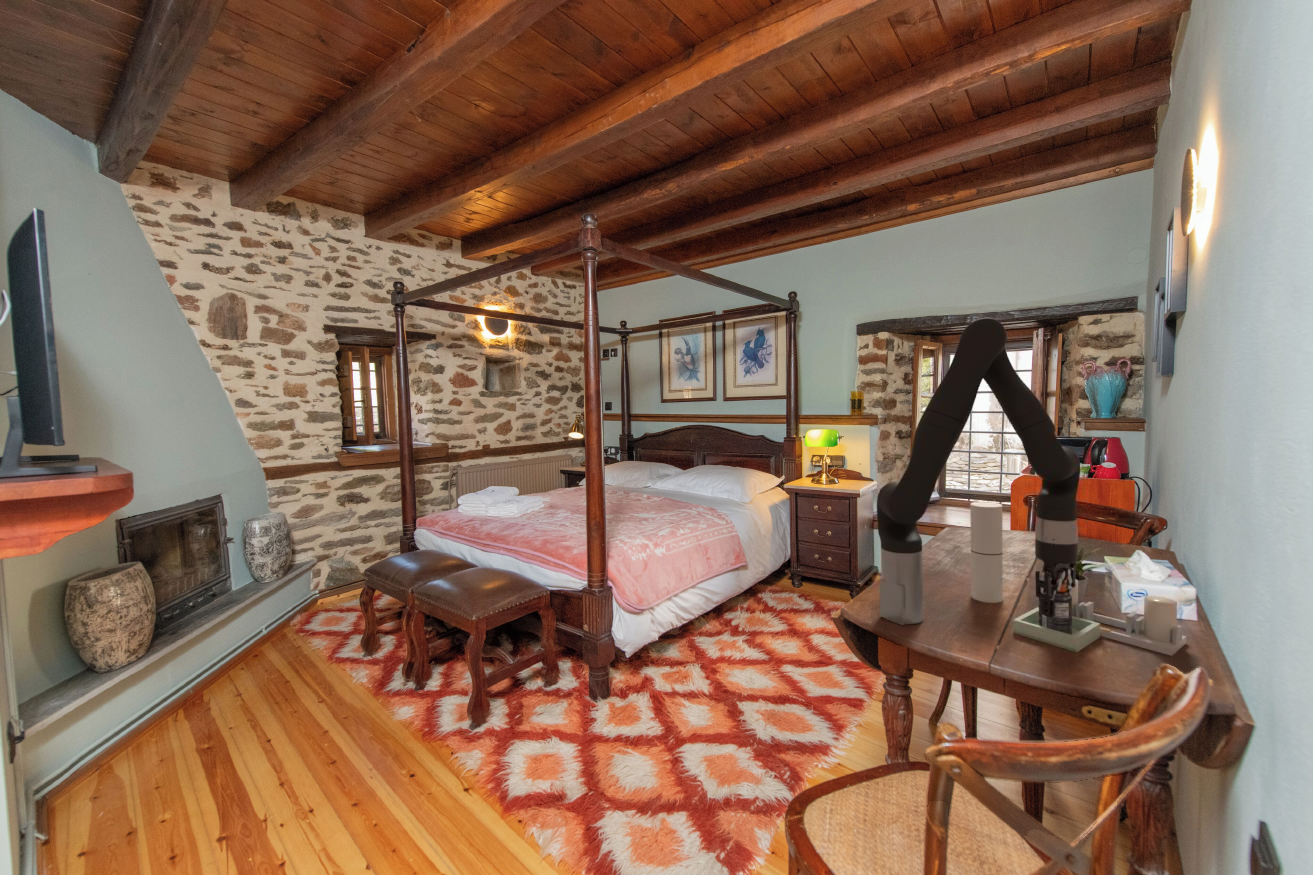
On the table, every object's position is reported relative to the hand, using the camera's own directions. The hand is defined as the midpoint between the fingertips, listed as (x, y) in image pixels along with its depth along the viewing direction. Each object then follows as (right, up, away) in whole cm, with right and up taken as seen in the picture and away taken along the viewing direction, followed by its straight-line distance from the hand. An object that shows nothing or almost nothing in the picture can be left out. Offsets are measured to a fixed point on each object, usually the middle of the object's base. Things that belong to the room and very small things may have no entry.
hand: (1055, 611), depth 119 cm
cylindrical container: (-1, -4, +23) cm, 23 cm away
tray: (0, -5, 0) cm, 5 cm away
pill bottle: (0, -5, 0) cm, 5 cm away
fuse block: (+13, -5, +1) cm, 14 cm away
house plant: (+17, -3, +20) cm, 27 cm away
